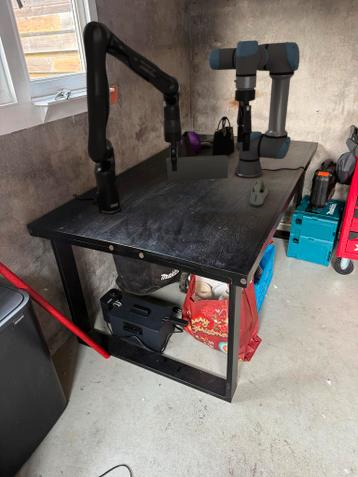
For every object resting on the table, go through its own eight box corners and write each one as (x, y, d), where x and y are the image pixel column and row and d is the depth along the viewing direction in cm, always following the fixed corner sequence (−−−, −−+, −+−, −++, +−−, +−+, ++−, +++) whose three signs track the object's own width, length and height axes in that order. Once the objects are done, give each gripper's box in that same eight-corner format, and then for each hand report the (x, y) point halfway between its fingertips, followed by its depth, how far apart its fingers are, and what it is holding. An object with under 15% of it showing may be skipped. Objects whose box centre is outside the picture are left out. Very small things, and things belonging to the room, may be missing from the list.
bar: (226, 174, 150) (226, 155, 146) (227, 178, 146) (228, 158, 141) (168, 177, 150) (166, 157, 146) (167, 181, 146) (166, 161, 142)
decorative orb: (204, 151, 235) (204, 129, 228) (194, 156, 225) (193, 134, 217) (186, 149, 243) (186, 128, 235) (175, 154, 232) (174, 132, 224)
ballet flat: (269, 188, 169) (270, 173, 165) (265, 208, 149) (266, 191, 145) (252, 187, 171) (253, 172, 167) (246, 206, 151) (247, 190, 147)
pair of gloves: (199, 150, 238) (199, 142, 236) (185, 142, 259) (184, 136, 256) (235, 144, 248) (235, 136, 245) (218, 137, 269) (218, 130, 266)
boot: (199, 157, 223) (198, 126, 213) (193, 168, 203) (192, 135, 193) (186, 157, 225) (185, 126, 215) (179, 168, 205) (177, 135, 195)
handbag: (223, 159, 216) (223, 119, 204) (210, 157, 220) (210, 119, 208) (235, 151, 231) (236, 113, 218) (223, 150, 235) (224, 113, 223)
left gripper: (164, 126, 144) (166, 164, 152) (163, 133, 131) (165, 174, 140) (181, 125, 144) (182, 163, 152) (181, 133, 131) (183, 173, 140)
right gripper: (230, 86, 133) (229, 139, 144) (240, 93, 111) (238, 155, 122) (249, 85, 133) (246, 138, 143) (262, 92, 111) (258, 154, 122)
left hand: (174, 168), depth 146 cm, fingers closed on bar, 5 cm apart
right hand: (242, 146), depth 133 cm, fingers open, 13 cm apart
